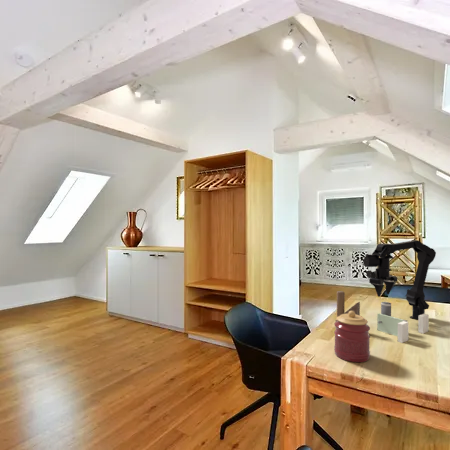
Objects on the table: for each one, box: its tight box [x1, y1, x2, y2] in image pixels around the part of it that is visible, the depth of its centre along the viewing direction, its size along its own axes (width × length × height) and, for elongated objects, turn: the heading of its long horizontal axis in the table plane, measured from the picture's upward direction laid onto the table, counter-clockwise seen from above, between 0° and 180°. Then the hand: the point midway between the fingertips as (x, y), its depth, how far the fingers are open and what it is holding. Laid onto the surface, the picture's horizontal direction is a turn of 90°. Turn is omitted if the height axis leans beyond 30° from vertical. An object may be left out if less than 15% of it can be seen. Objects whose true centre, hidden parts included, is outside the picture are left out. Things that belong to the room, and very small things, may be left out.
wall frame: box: [397, 313, 430, 344], centre depth 141 cm, size 26×2×8 cm, turn 125°
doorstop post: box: [380, 301, 392, 317], centre depth 150 cm, size 4×4×13 cm
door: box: [376, 313, 408, 337], centre depth 143 cm, size 14×3×8 cm, turn 33°
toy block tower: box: [334, 290, 361, 328], centre depth 150 cm, size 4×11×18 cm, turn 46°
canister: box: [333, 311, 371, 363], centre depth 120 cm, size 13×13×18 cm
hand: (383, 295), depth 165 cm, fingers open, 9 cm apart
